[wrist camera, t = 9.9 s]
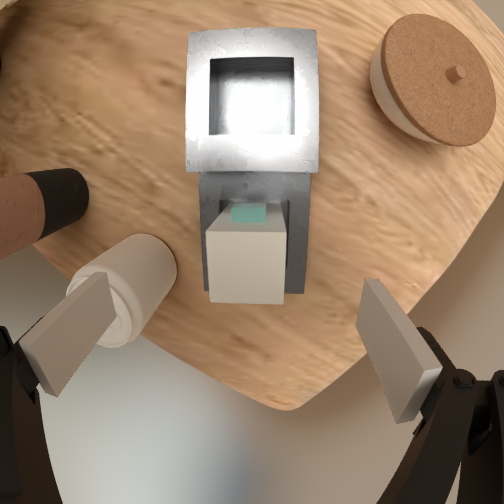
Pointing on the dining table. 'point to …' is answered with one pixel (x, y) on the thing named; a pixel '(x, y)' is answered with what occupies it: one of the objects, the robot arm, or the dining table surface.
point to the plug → (247, 254)
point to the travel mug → (39, 206)
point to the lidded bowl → (433, 82)
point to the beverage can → (132, 283)
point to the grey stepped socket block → (255, 128)
